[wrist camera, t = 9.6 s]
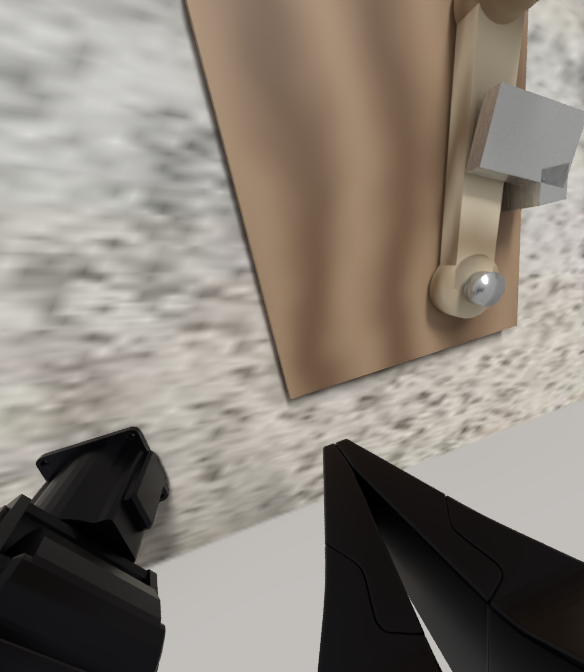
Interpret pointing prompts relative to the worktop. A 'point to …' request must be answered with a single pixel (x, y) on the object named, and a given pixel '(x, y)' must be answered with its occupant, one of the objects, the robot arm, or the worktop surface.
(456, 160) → the wooden crank lever
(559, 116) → the keeper
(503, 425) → the worktop surface
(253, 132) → the walnut board
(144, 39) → the worktop surface
